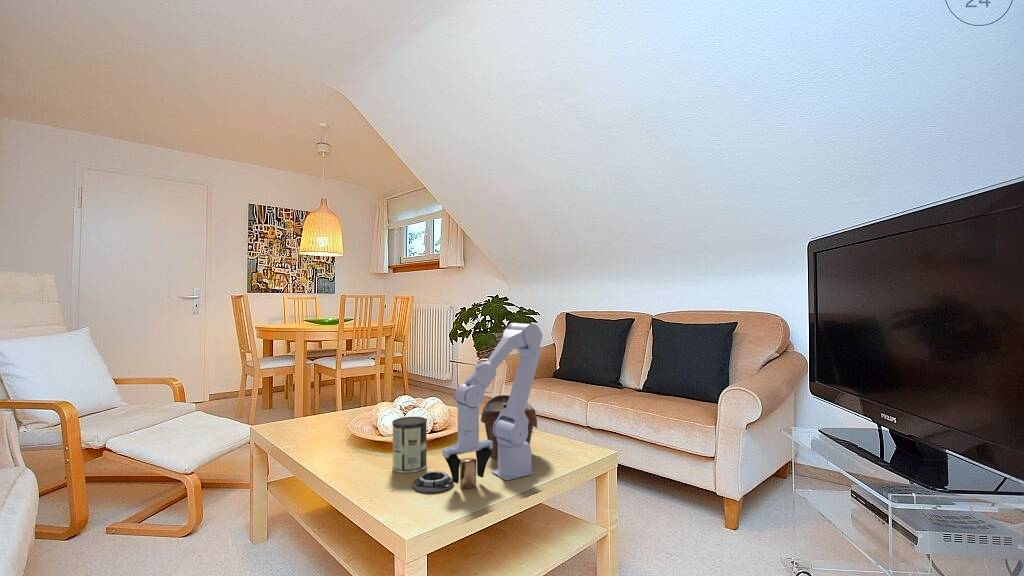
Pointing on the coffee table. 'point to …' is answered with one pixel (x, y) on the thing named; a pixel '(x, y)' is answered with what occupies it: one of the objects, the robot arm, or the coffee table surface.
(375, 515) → the coffee table surface
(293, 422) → the coffee table surface
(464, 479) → the pipe stub
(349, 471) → the coffee table surface
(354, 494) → the coffee table surface
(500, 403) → the brown trash bin
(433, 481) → the flange
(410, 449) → the coffee can
